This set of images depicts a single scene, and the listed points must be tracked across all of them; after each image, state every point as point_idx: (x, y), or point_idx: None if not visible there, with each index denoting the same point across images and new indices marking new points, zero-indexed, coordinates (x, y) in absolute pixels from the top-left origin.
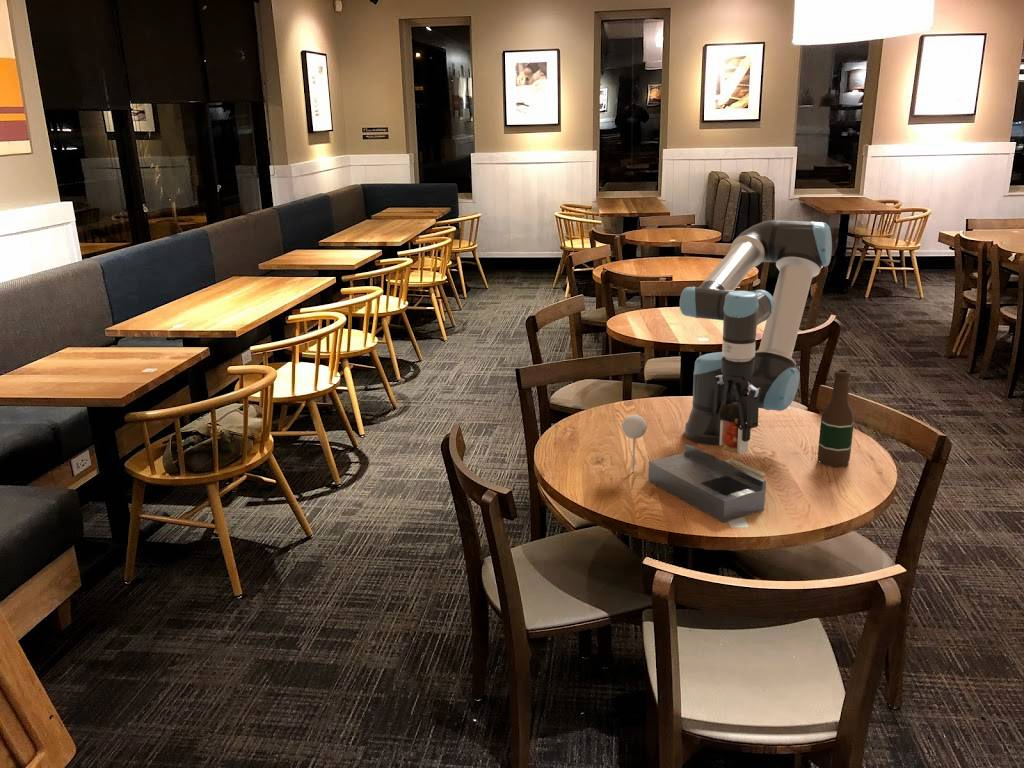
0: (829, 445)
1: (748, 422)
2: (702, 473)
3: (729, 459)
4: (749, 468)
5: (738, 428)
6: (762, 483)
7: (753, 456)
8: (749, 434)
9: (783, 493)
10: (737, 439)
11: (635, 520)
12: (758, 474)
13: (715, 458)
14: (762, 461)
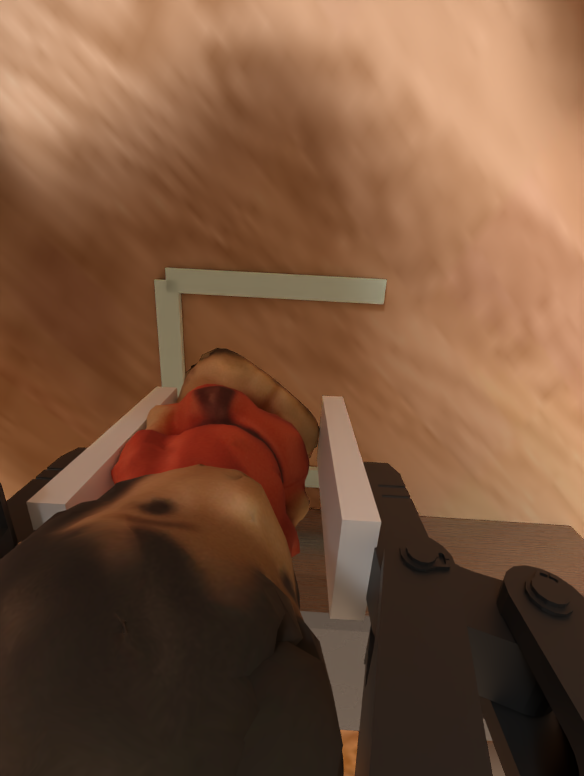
0: None
1: (534, 765)
2: (349, 660)
3: (155, 284)
4: (292, 290)
5: (332, 614)
6: None
7: (168, 114)
8: (411, 511)
9: (553, 365)
10: (292, 486)
11: (353, 770)
12: (360, 301)
13: (330, 623)
14: (248, 130)
